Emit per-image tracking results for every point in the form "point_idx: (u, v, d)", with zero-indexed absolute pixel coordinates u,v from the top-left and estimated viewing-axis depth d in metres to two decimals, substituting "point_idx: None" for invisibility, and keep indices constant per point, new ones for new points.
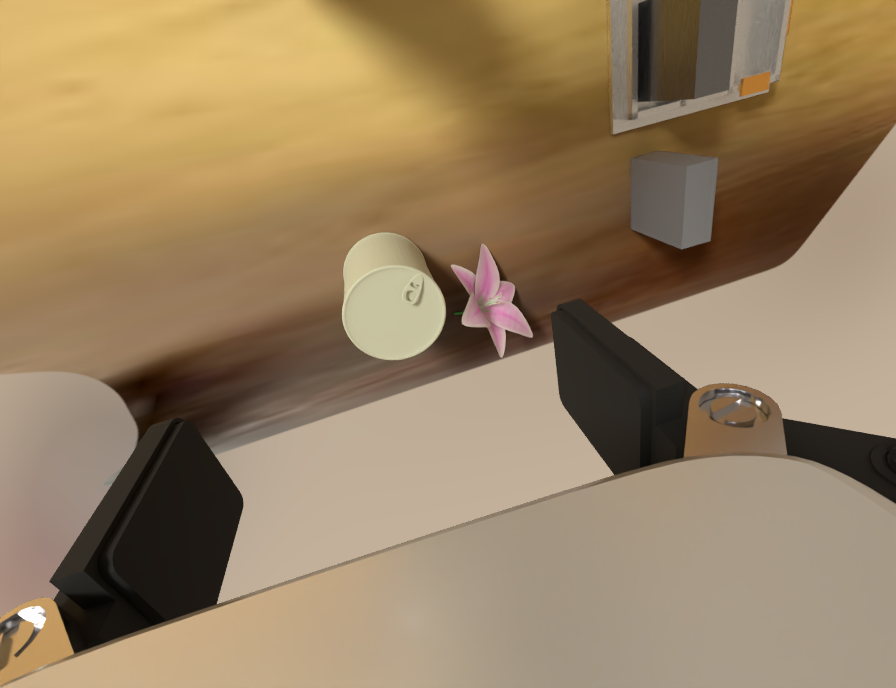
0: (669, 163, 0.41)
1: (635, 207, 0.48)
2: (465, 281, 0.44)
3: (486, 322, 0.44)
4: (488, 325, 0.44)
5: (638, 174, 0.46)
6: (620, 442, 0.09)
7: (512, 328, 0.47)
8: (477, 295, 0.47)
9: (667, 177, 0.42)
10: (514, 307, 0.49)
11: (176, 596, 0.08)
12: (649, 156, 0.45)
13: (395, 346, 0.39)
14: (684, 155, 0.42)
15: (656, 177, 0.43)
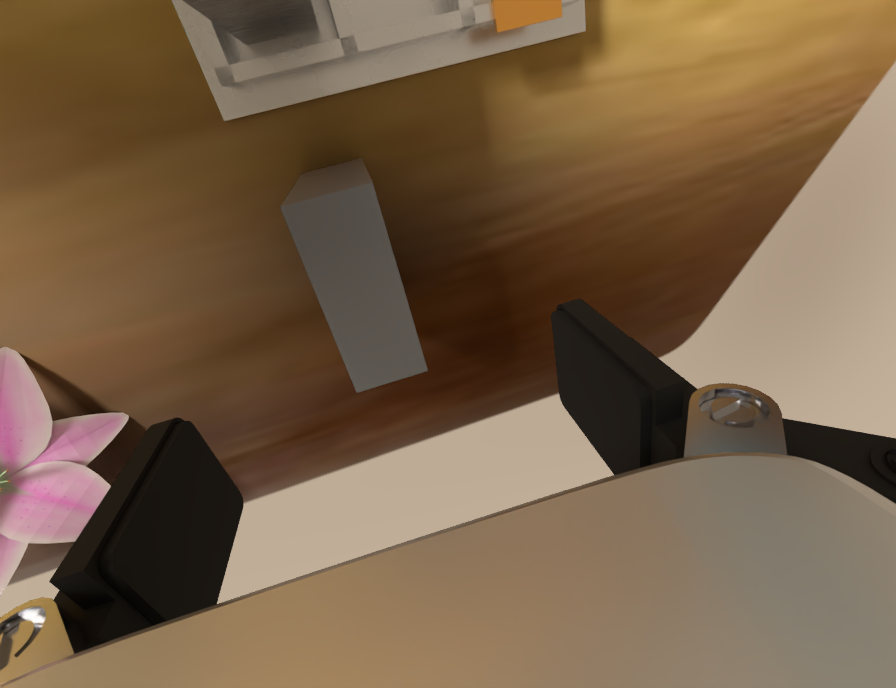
0: (293, 193, 0.16)
1: None
2: None
3: None
4: None
5: None
6: (620, 442, 0.09)
7: (50, 533, 0.22)
8: None
9: None
10: (88, 474, 0.24)
11: (176, 596, 0.08)
12: (323, 170, 0.21)
13: None
14: (355, 171, 0.18)
15: None
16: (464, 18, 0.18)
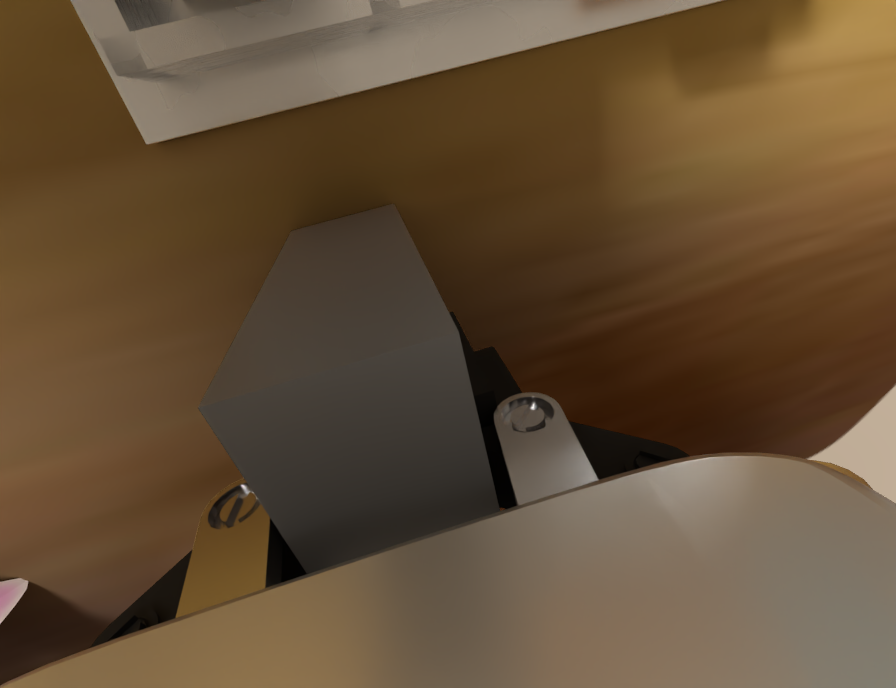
0: (257, 313, 0.07)
1: None
2: None
3: None
4: None
5: None
6: None
7: None
8: None
9: None
10: None
11: None
12: (328, 231, 0.12)
13: None
14: (393, 252, 0.09)
15: None
16: None
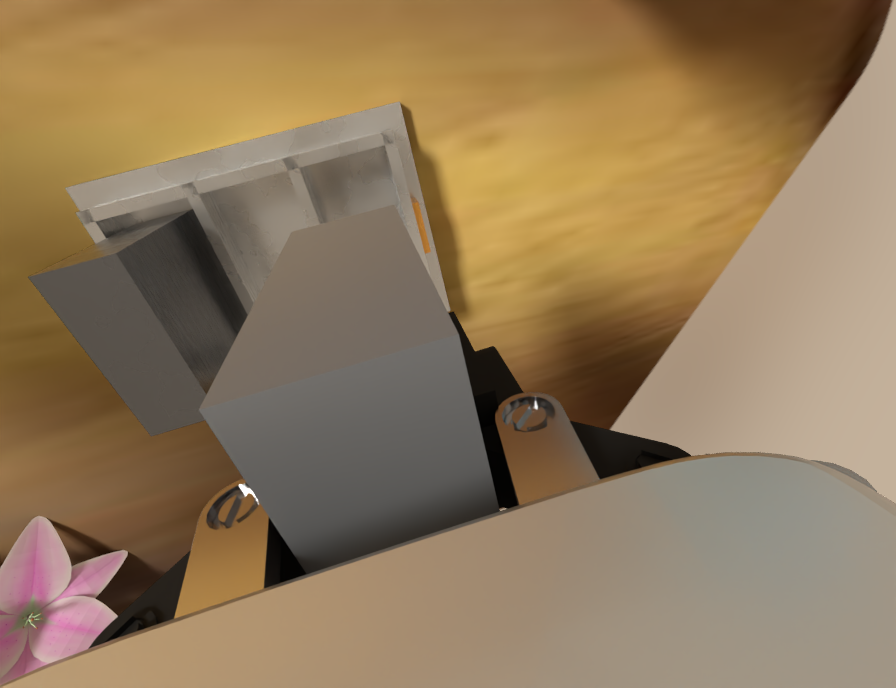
0: (257, 315, 0.07)
1: None
2: None
3: None
4: None
5: None
6: None
7: None
8: (14, 606, 0.30)
9: None
10: (97, 605, 0.32)
11: None
12: (328, 232, 0.12)
13: None
14: (393, 253, 0.09)
15: None
16: None
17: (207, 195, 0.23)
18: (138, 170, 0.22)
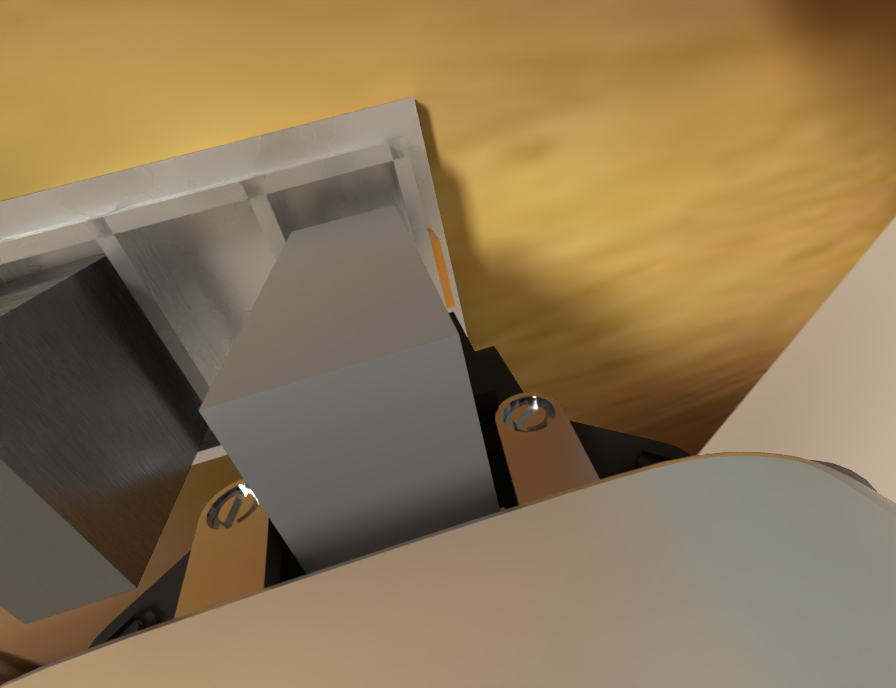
0: (257, 315, 0.07)
1: None
2: None
3: None
4: None
5: None
6: None
7: None
8: None
9: None
10: None
11: None
12: (328, 233, 0.12)
13: None
14: (393, 254, 0.09)
15: None
16: None
17: (132, 233, 0.15)
18: (27, 197, 0.15)
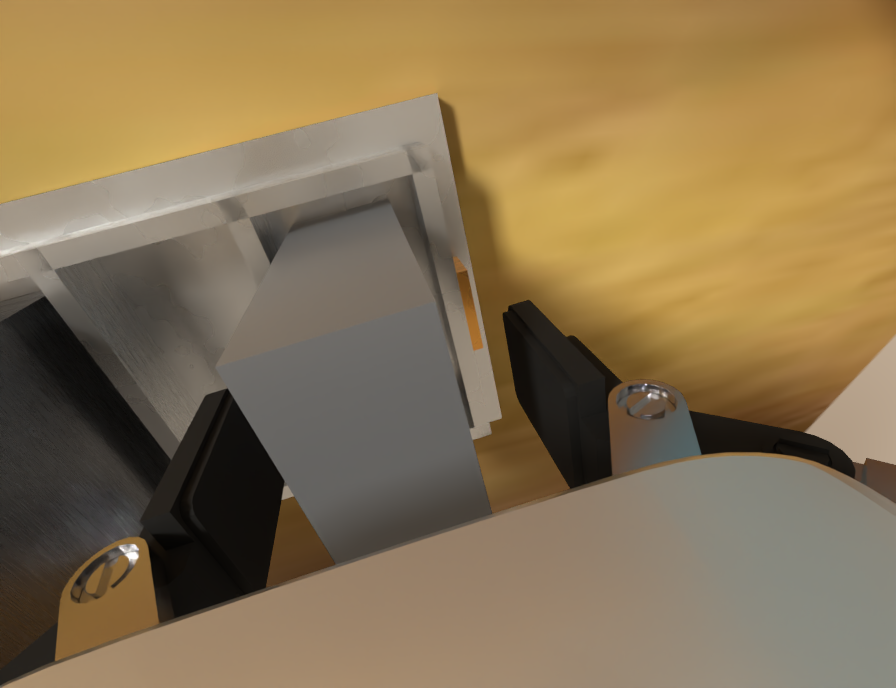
0: (262, 294, 0.08)
1: None
2: None
3: None
4: None
5: None
6: (557, 435, 0.09)
7: None
8: None
9: None
10: None
11: (241, 545, 0.08)
12: (326, 224, 0.12)
13: None
14: (384, 240, 0.10)
15: None
16: None
17: (82, 265, 0.12)
18: None
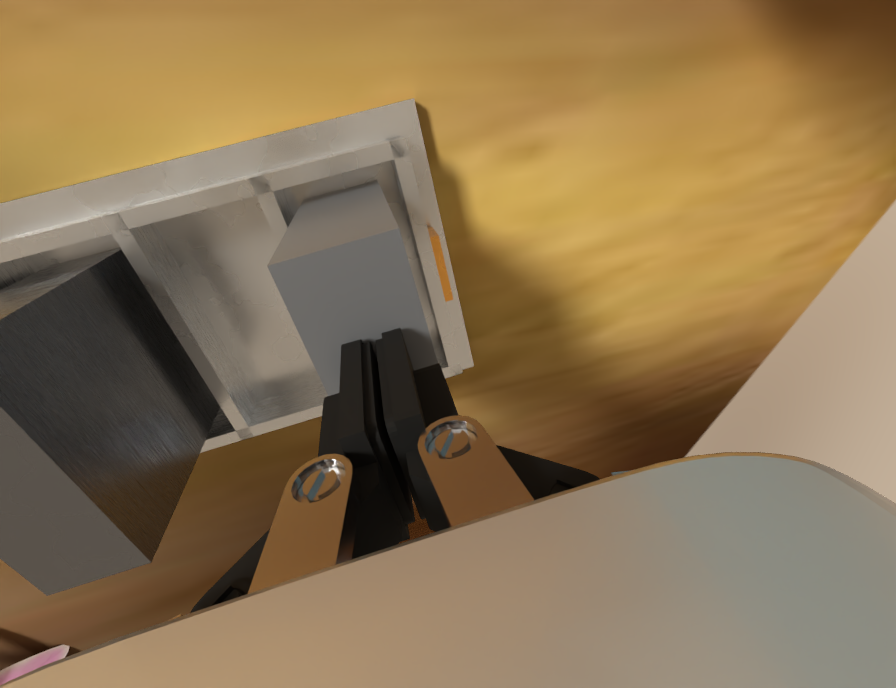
0: (288, 236, 0.12)
1: None
2: None
3: None
4: None
5: None
6: None
7: None
8: None
9: None
10: None
11: (399, 474, 0.09)
12: (329, 198, 0.16)
13: None
14: (371, 203, 0.13)
15: None
16: None
17: (145, 228, 0.16)
18: (46, 194, 0.16)
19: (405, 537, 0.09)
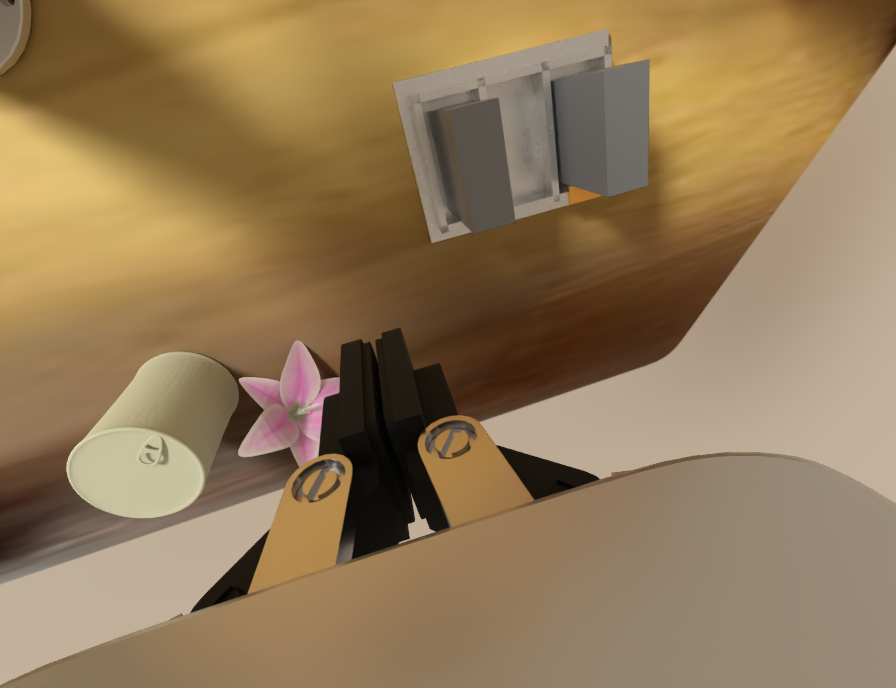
0: (586, 74, 0.30)
1: (558, 149, 0.37)
2: (263, 393, 0.39)
3: (286, 441, 0.38)
4: (288, 444, 0.38)
5: (556, 102, 0.35)
6: None
7: None
8: (288, 402, 0.41)
9: (585, 95, 0.30)
10: None
11: (399, 474, 0.09)
12: (569, 76, 0.34)
13: (150, 504, 0.34)
14: (610, 67, 0.31)
15: (574, 99, 0.32)
16: (554, 199, 0.38)
17: None
18: (439, 72, 0.33)
19: (405, 537, 0.09)
